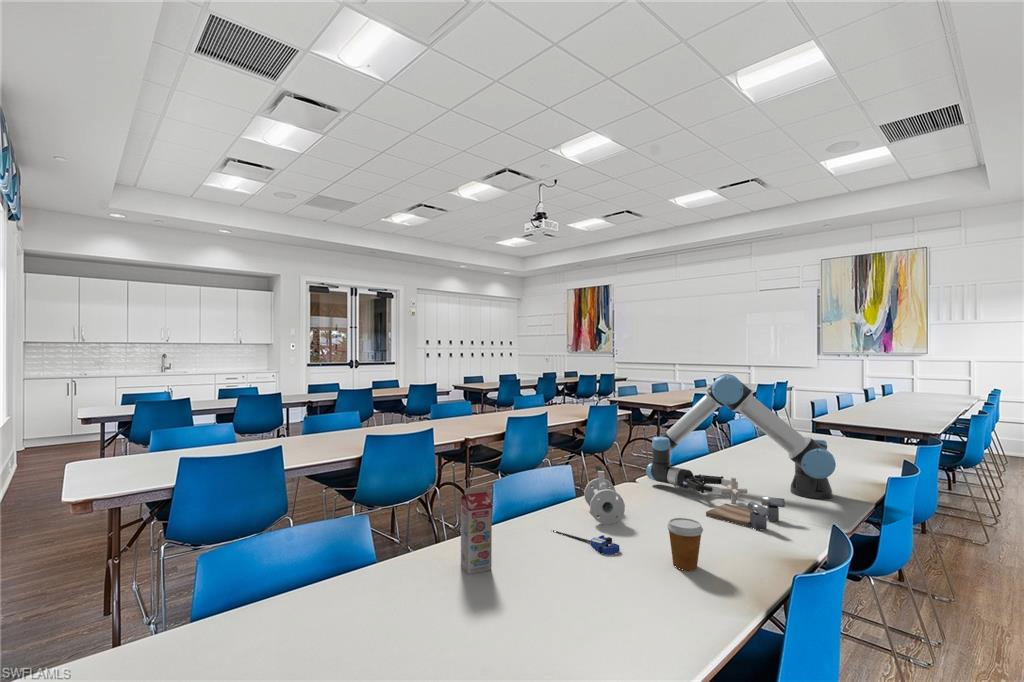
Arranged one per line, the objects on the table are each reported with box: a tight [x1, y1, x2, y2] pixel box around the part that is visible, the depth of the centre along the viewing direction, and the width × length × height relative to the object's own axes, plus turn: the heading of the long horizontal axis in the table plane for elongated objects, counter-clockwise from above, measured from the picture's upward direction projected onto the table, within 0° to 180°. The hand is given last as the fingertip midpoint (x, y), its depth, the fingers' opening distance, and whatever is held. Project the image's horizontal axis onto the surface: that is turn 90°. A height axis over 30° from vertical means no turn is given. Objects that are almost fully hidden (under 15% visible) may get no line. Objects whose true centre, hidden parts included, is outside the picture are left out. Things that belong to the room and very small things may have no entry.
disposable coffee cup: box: [666, 517, 704, 571], centre depth 138 cm, size 10×10×12 cm
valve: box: [584, 465, 626, 526], centre depth 182 cm, size 22×12×15 cm, turn 179°
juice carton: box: [460, 485, 493, 575], centre depth 137 cm, size 7×7×22 cm
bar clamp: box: [552, 529, 620, 555], centre depth 159 cm, size 32×2×10 cm
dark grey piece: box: [747, 501, 769, 531], centre depth 168 cm, size 7×4×8 cm, turn 11°
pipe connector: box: [722, 476, 748, 505], centre depth 196 cm, size 10×10×10 cm
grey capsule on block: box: [761, 496, 786, 524], centre depth 176 cm, size 7×4×8 cm, turn 71°
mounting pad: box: [705, 503, 753, 527], centre depth 180 cm, size 15×15×2 cm
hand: (729, 488), depth 196 cm, fingers open, 13 cm apart
